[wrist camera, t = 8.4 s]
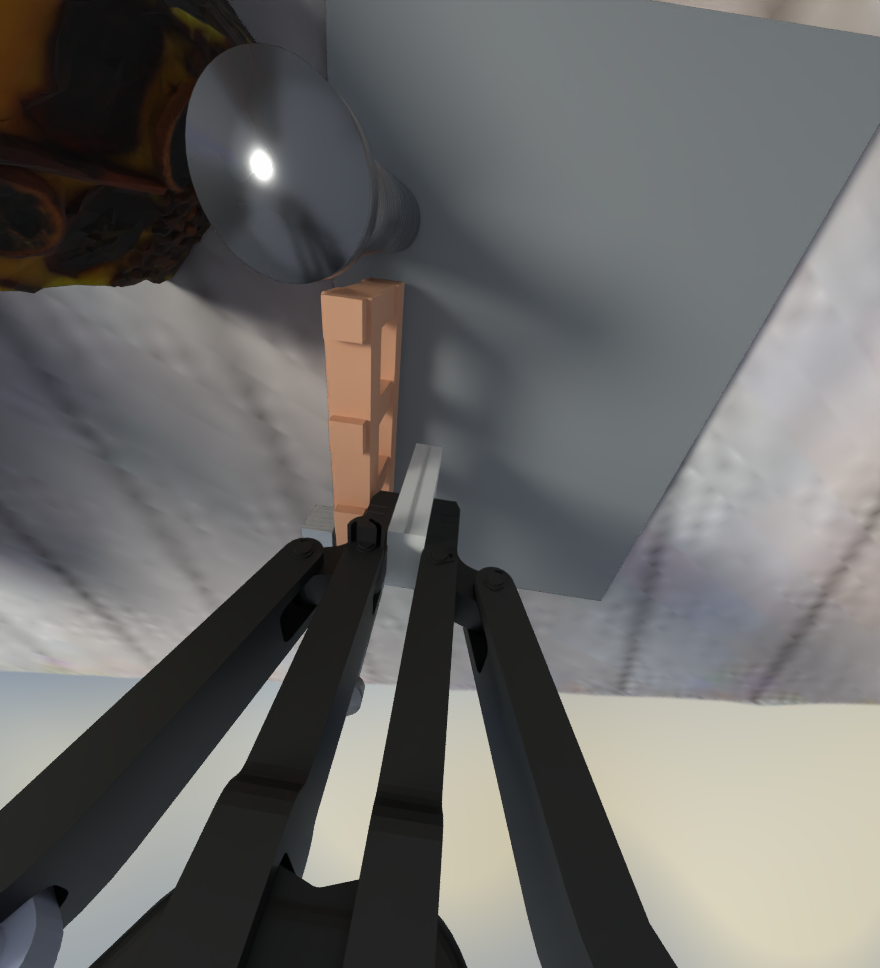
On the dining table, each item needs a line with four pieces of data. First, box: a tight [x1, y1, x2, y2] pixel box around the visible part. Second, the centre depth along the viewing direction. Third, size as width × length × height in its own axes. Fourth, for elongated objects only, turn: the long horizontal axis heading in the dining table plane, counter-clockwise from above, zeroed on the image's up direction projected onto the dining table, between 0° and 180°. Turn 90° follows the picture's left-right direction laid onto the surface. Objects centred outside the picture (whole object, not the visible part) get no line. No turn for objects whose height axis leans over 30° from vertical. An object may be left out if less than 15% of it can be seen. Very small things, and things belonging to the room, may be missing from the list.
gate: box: [321, 277, 405, 546], centre depth 17 cm, size 13×2×6 cm, turn 173°
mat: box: [325, 0, 880, 601], centre depth 19 cm, size 19×27×1 cm
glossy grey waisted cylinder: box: [185, 43, 421, 284], centre depth 11 cm, size 3×3×11 cm
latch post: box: [301, 505, 385, 716], centre depth 20 cm, size 5×6×11 cm
